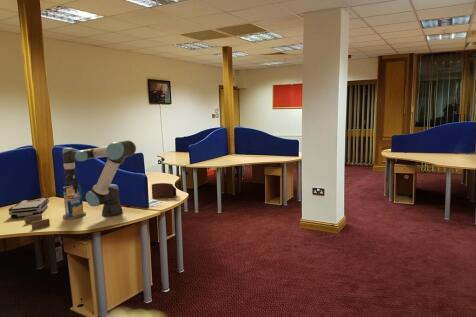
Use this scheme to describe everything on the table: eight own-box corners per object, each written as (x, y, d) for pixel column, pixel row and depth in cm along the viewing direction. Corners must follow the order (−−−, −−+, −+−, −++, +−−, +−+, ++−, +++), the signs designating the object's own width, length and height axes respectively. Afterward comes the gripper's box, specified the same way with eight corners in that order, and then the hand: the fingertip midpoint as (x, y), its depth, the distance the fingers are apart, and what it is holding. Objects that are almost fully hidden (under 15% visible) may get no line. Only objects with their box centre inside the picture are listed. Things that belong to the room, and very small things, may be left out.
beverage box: (65, 215, 268) (62, 187, 265) (80, 211, 276) (77, 184, 273) (68, 216, 264) (65, 188, 261) (83, 213, 271) (81, 185, 268)
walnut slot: (50, 225, 249) (49, 218, 248) (32, 229, 241) (31, 222, 240) (41, 220, 262) (41, 213, 261) (25, 224, 254) (24, 217, 253)
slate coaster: (89, 215, 270) (89, 213, 270) (67, 220, 259) (67, 219, 259) (81, 211, 281) (80, 210, 281) (59, 216, 270) (59, 214, 270)
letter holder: (173, 198, 314) (172, 183, 312) (152, 198, 316) (151, 183, 314) (176, 195, 324) (175, 180, 322) (155, 196, 326) (154, 181, 324)
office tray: (49, 206, 303) (48, 196, 302) (40, 216, 273) (39, 206, 272) (22, 208, 297) (21, 199, 296) (9, 219, 267) (8, 209, 266)
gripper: (58, 167, 271) (61, 194, 274) (70, 170, 253) (73, 199, 256) (68, 166, 276) (71, 192, 279) (81, 169, 259) (84, 197, 261)
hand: (72, 195), depth 268 cm, fingers open, 13 cm apart
